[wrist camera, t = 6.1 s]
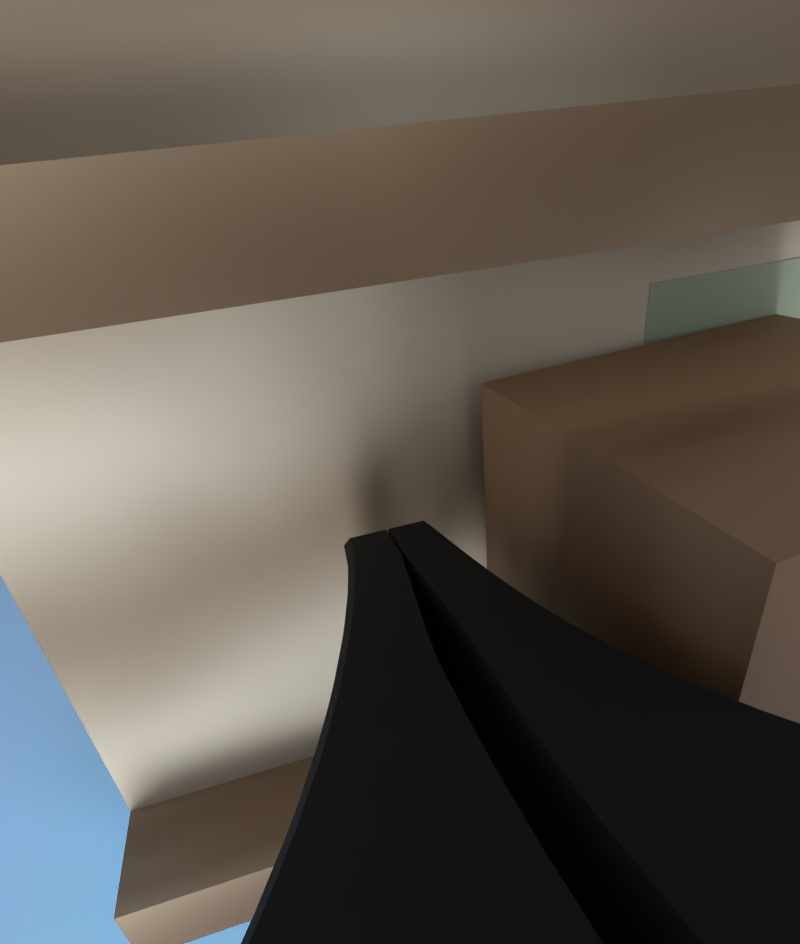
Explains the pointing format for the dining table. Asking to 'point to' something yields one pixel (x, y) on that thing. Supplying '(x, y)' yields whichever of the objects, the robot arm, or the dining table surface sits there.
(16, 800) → the dining table surface
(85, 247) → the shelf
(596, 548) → the walnut block
